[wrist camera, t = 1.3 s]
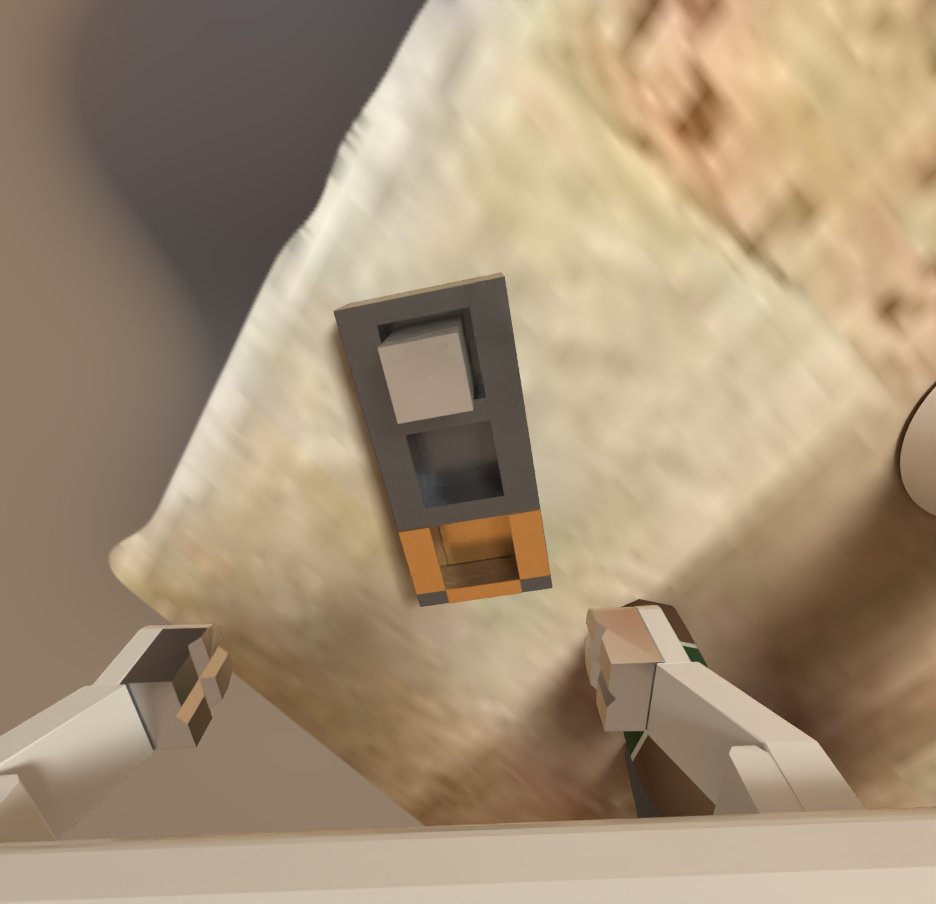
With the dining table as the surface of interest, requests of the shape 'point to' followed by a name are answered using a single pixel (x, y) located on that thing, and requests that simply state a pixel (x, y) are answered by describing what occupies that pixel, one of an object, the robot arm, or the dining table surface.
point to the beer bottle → (652, 764)
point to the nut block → (428, 369)
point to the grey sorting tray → (455, 450)
